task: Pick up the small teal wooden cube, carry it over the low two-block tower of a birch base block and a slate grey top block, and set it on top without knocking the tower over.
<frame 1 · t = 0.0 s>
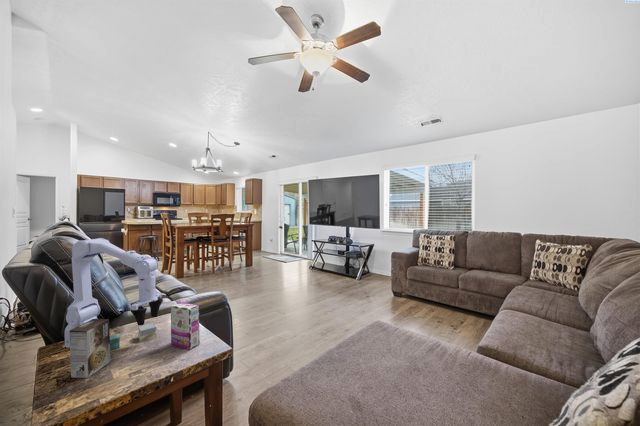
hand: (147, 320, 106), 10 cm above the table, tool pointing down, fingers open, 7 cm apart
base block: (147, 338, 112), on the table, touching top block
cube: (112, 348, 104), on the table
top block: (147, 332, 112), point 2 cm above the table, touching base block
candy bar box: (185, 345, 106), on the table
coffee box: (91, 369, 90), on the table
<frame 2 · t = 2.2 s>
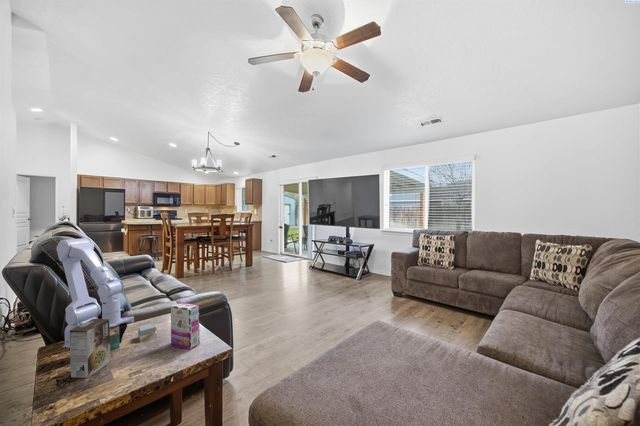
hand: (112, 344, 104), 1 cm above the table, tool pointing down, fingers closed on cube, 4 cm apart
base block: (147, 338, 112), on the table
cube: (112, 348, 104), on the table, touching gripper
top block: (147, 332, 112), point 2 cm above the table
everything else where it was.
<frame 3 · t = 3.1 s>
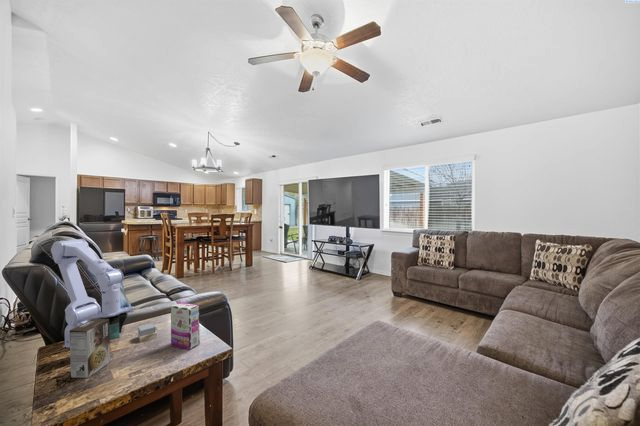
hand: (111, 334, 104), 6 cm above the table, tool pointing down, fingers closed on cube, 4 cm apart
base block: (147, 338, 112), on the table, touching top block
cube: (111, 337, 104), point 4 cm above the table, touching gripper
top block: (146, 332, 112), point 2 cm above the table, touching base block
everything else where it was.
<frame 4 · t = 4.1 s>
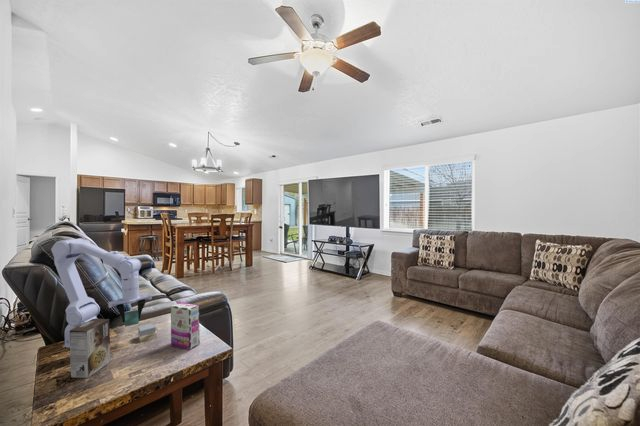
hand: (131, 319, 108), 9 cm above the table, tool pointing down, fingers closed on cube, 4 cm apart
cube: (131, 323, 108), point 8 cm above the table, touching gripper
everything else where it was.
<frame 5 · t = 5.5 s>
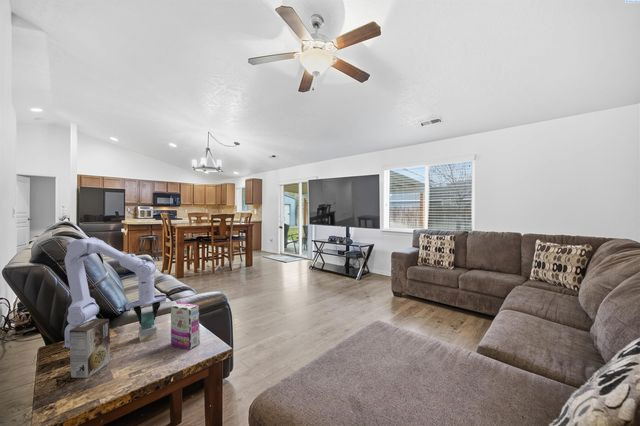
hand: (147, 321, 112), 7 cm above the table, tool pointing down, fingers closed on cube, 4 cm apart
cube: (147, 324, 112), point 6 cm above the table, touching gripper
everything else where it was.
when the fingers open (7 cm above the table, at t = 5.9 s): cube moves 1 cm, point 5 cm above the table.
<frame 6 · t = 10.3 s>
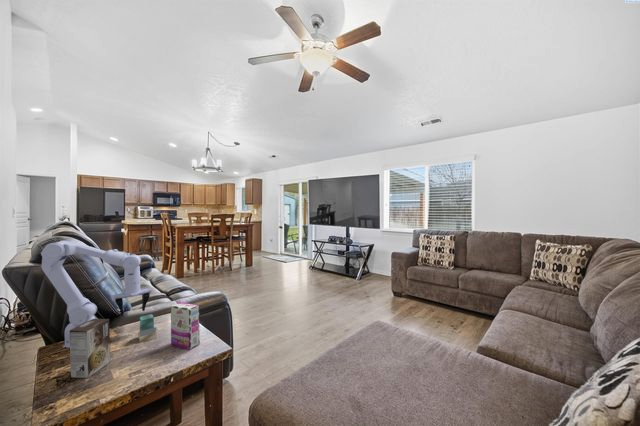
hand: (133, 312, 114), 10 cm above the table, tool pointing down, fingers open, 7 cm apart
cube: (147, 327, 112), point 5 cm above the table
everything else where it was.
at the end: cube 0.5 cm off-centre on the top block, point 2.5 cm above the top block's base; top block 0.2 cm from the target spot, point 2.1 cm above the table; cube tilted 0° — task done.
